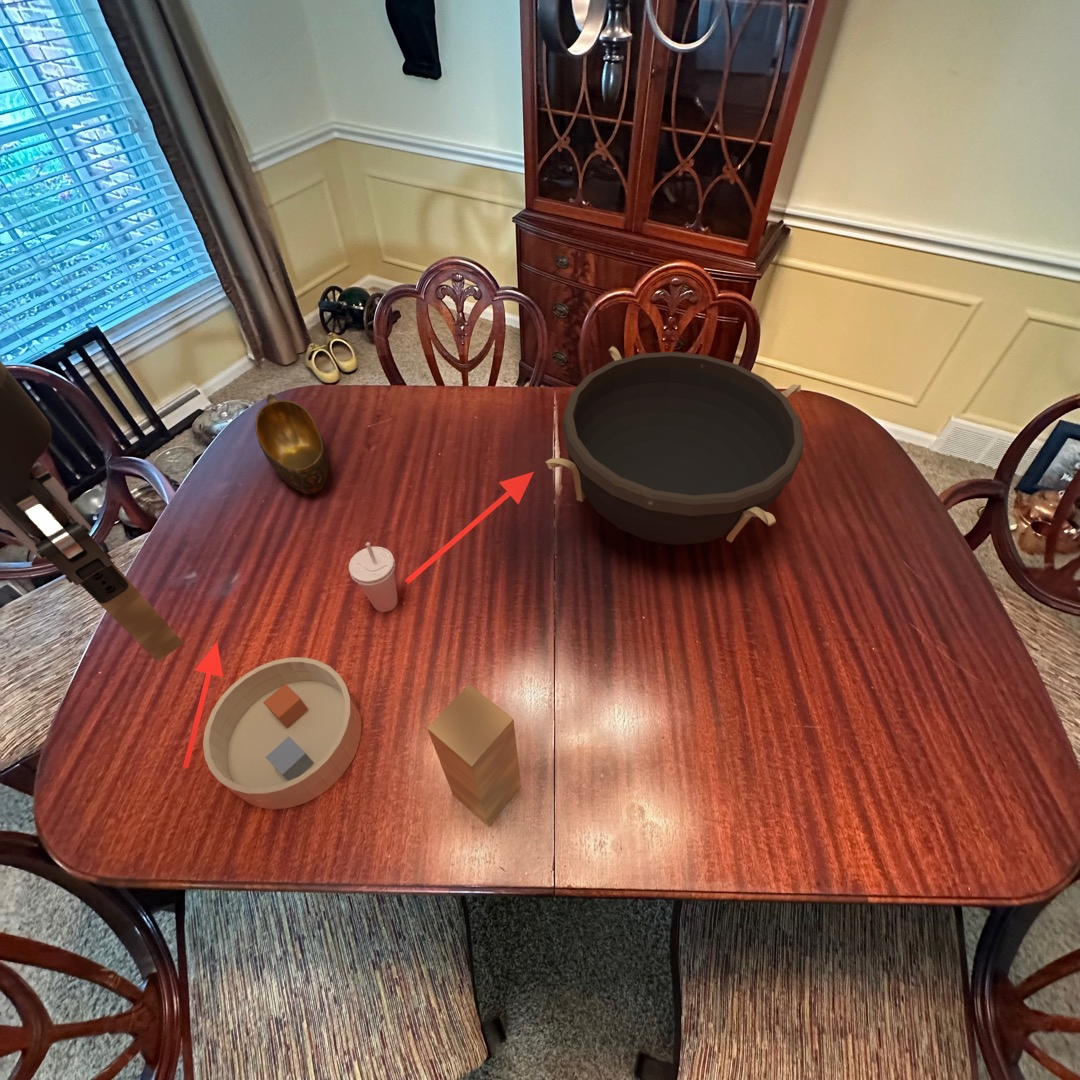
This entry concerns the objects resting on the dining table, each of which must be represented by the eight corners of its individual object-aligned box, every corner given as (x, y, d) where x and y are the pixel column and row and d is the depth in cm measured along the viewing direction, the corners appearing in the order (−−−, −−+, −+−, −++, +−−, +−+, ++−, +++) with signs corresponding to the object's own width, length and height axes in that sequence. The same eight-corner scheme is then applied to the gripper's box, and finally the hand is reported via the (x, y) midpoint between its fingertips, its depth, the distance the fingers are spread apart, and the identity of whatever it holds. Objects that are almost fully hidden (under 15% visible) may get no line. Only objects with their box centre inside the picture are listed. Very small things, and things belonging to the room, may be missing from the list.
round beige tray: (277, 841, 70) (258, 826, 66) (197, 749, 78) (175, 730, 73) (389, 729, 79) (379, 709, 74) (307, 656, 86) (294, 634, 82)
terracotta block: (287, 728, 79) (278, 717, 76) (272, 713, 80) (262, 702, 77) (308, 709, 80) (300, 698, 78) (293, 694, 82) (284, 683, 79)
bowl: (780, 468, 110) (817, 375, 95) (750, 621, 89) (792, 533, 74) (596, 424, 119) (603, 333, 104) (529, 555, 98) (525, 464, 82)
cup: (346, 430, 119) (332, 387, 111) (331, 503, 106) (313, 460, 98) (280, 434, 118) (261, 391, 111) (256, 507, 105) (233, 465, 98)
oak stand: (488, 827, 71) (471, 766, 56) (452, 794, 74) (426, 727, 58) (521, 786, 74) (513, 718, 59) (485, 756, 77) (469, 683, 61)
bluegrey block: (291, 784, 74) (282, 775, 71) (275, 767, 75) (265, 757, 73) (314, 763, 76) (305, 752, 73) (297, 746, 77) (288, 735, 75)
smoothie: (399, 622, 90) (378, 564, 79) (358, 616, 90) (332, 559, 80) (411, 587, 94) (393, 528, 83) (372, 582, 95) (349, 523, 84)
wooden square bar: (158, 662, 51) (54, 558, 40) (143, 646, 52) (38, 541, 41) (184, 643, 52) (90, 537, 41) (170, 628, 53) (74, 521, 42)
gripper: (-201, 373, 33) (13, 568, 46) (-122, 486, 27) (98, 672, 40) (-47, 317, 36) (111, 512, 50) (51, 405, 31) (201, 600, 44)
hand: (104, 583), depth 45 cm, fingers closed on wooden square bar, 2 cm apart
